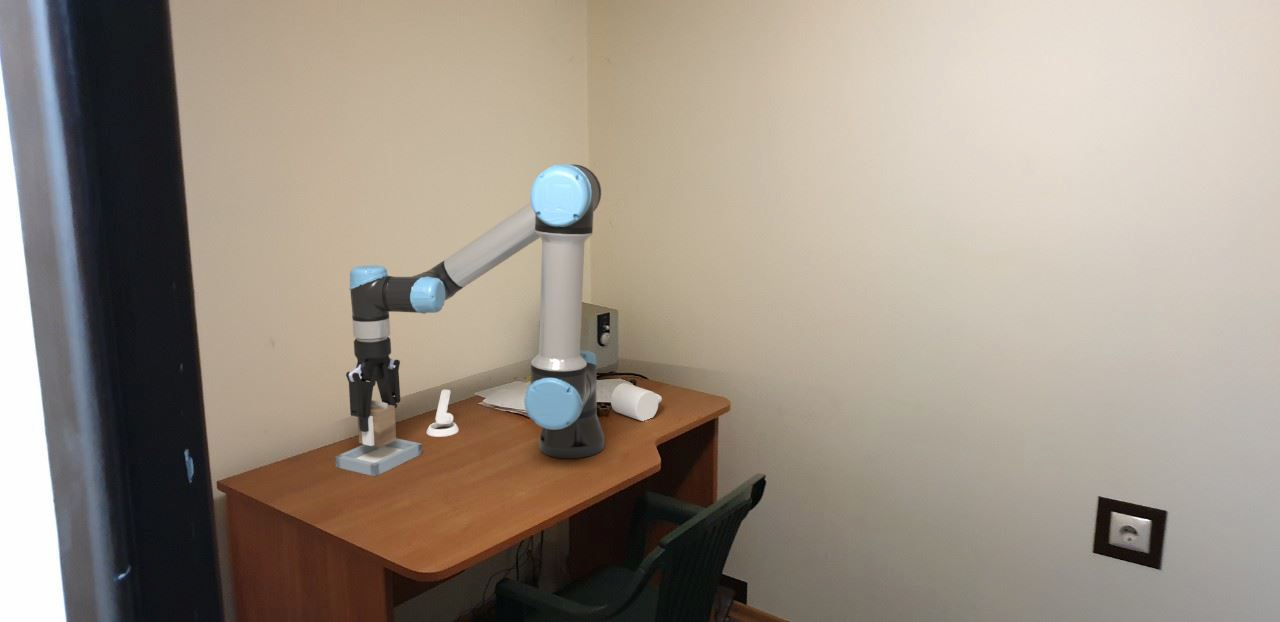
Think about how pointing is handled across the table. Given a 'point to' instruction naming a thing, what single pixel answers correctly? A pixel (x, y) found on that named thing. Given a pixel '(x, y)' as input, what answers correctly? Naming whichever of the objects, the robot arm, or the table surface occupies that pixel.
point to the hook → (443, 418)
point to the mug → (635, 401)
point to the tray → (378, 457)
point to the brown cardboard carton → (382, 423)
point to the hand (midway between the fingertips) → (378, 440)
